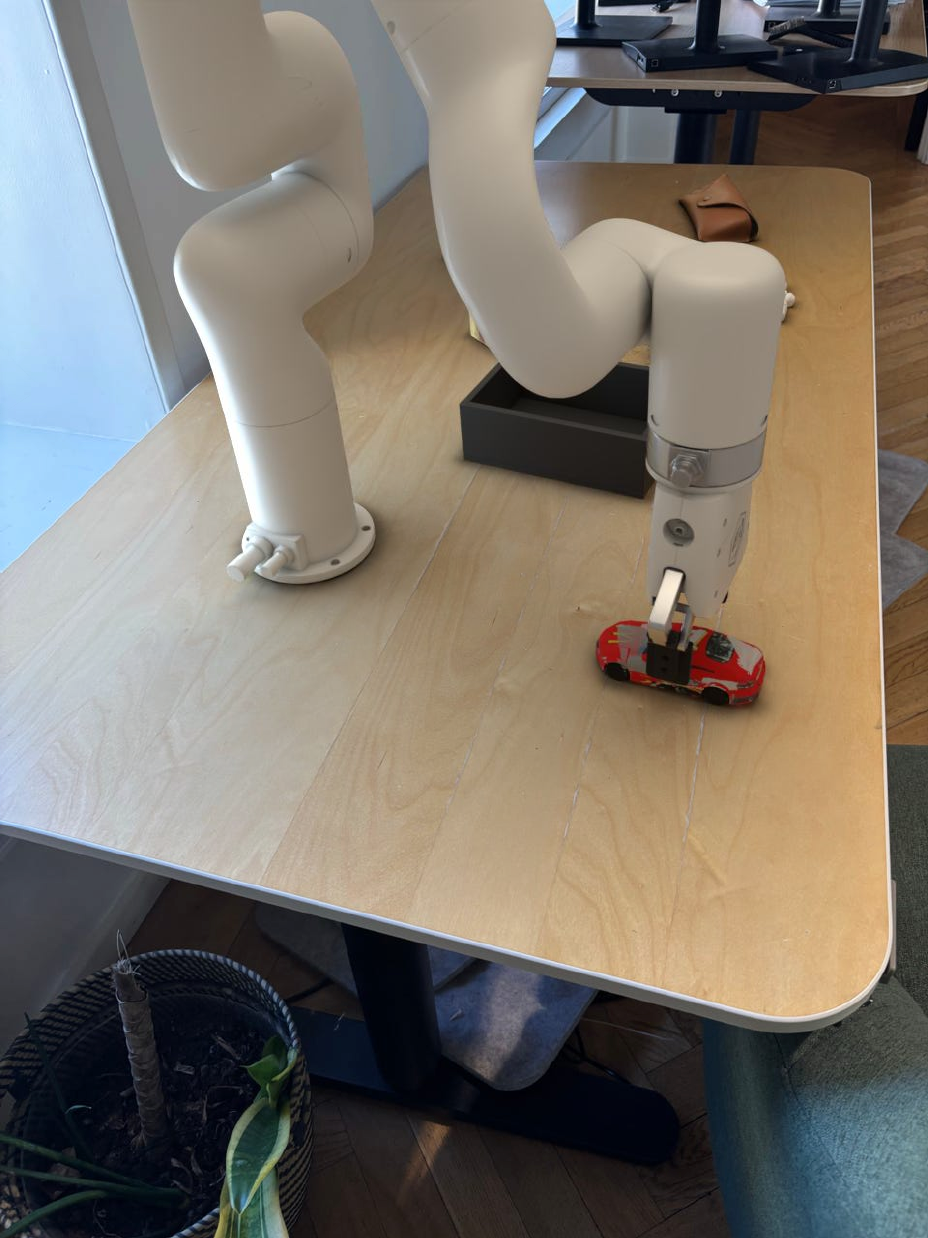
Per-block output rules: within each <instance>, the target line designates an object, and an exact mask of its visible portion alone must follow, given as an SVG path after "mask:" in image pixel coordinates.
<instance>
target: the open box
mask: <svg viewBox="0 0 928 1238" xmlns="http://www.w3.org/2000/svg"><path fill="white" fill-rule="evenodd" d="M649 368H650V365H649V366H648V365H642V364H638V363H637V364H636V363H631V362H624V361H619V363H618V364H617V365H616V366H615V367H614V368H613V369H612V370H611V371H610V372H609V373H608V374H607V375H606V376H605V377H604V378H603V379H601V380H600V381H599V382H598V383H597V384H596V385H594V386H593V387H592V388H590V389H588V390H587V391H585V392H583V393H580V394H578V395H576V396H572V397H567V398H549V397H545V396H541V395H538V394H536V393H534V392H532V391H530V390H528V389H526V388H525V387H524V386H522V385H521V384H520V383H518V382H517V381H516V380H515V379H514V378H513V377H512V376H511V375H510V374H509V373H508V372H507V371H506V370H505V369H504V368H503V367H502V365H501V364H500V363H499V361H497V363H496V364H494V366H493V367H492V368H491V369H490V371H489V372H488V373H487V374H486V375H485V376H483V378H482V379H481V380H480V381H479V382H478V383H477V384H476V385H475V387H474V388H472V389H471V391H470V392H468V394H467V395H466V396H465V397H464V398H463V399H462V400H461V401H460V402H459V405H458V406H459V418H460V430H461V444H462V458H463V459H462V460H465V461H468V462H473V463H478V464H482V465H486V466H490V467H496V468H500V469H505V470H508V471H513V472H518V473H523V474H526V475H531V476H536V477H540V478H545V479H550V480H554V481H559V482H564V483H567V484H572V485H577V486H581V487H586V488H589V489H590V488H591V489H594V490H599V491H604V492H608V493H612V494H618V495H621V496H627V497H631V498H635V499H640V500H644V498H645V497H646V495H647V494H648V492H649V490H650V488H651V487H652V485H653V484H654V483H655V481H656V480H655V479H654V478H653V477H652V476H651V475H650V473H649V472H648V470H647V467H646V444H647V420H648V396H649Z"/></svg>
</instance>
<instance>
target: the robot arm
mask: <svg viewBox="0 0 928 1238" xmlns="http://www.w3.org/2000/svg"><path fill="white" fill-rule="evenodd" d="M369 1H370V3H371V4H372V7H373V8H374V11H375V12H376V14H377V16H378V18H379V20H380V22H381V24H382V26H383V27H384V30H385V33H387V35H388V37H389V39H390V41H391V43H392V45H393V47H394V49H395V50H396V52H397V55H398V56H399V59H400V62H401V63H402V65H403V67H404V69H405V71H406V73H407V75H408V77H409V78H410V81H411V83H412V84H413V86H414V88H415V90H416V92H417V94H418V97H419V99H420V100H421V102H422V105H423V107H424V110H425V113H426V117H427V123H428V173H429V183H430V193H431V198H432V206H433V215H434V222H435V228H436V233H437V239H438V244H439V247H440V251H441V256H442V258H443V261H444V264H445V266H446V270H447V273H448V274H449V277H450V279H451V281H452V283H453V286H454V287H455V289H456V291H457V293H458V295H459V297H460V298H461V300H462V302H463V304H464V306H465V307H466V309H467V311H468V314H469V313H470V315H471V317H472V319H473V321H474V322H475V324H476V326H477V328H478V330H479V332H480V333H481V335H482V337H483V339H484V340H485V342H486V344H487V345H488V346H487V347H488V348H489V350H490V351H491V353H492V354H493V356H494V358H495V359H496V360H497V362H499V363H500V364H501V365H502V367H503V368H504V369H505V370H506V371H507V372H508V373H509V374H510V375H511V376H512V377H513V378H514V379H515V380H516V381H517V382H518V383H520V384H521V385H522V386H524V387H525V388H526V389H528V390H530V391H532V392H534V393H536V394H538V395H541V396H545V397H549V398H567V397H572V396H576V395H578V394H580V393H583V392H585V391H587V390H588V389H590V388H592V387H593V386H594V385H596V384H597V383H598V382H599V381H600V380H601V379H603V378H604V377H605V376H606V375H607V374H608V373H609V372H610V371H611V370H612V369H613V368H614V367H615V366H616V365H617V364H618V363H619V362H621V360H622V359H623V358H625V356H626V355H627V354H628V353H629V352H630V351H631V350H633V349H636V348H639V347H640V346H641V347H642V346H647V347H648V348H649V367H650V368H649V396H648V420H647V444H646V467H647V470H648V472H649V473H650V475H651V476H652V477H653V478H654V479H655V480H654V481H656V483H655V490H654V497H653V504H652V507H651V511H652V512H651V520H650V521H651V522H650V530H649V540H648V551H647V563H646V598H647V601H648V602H649V604H650V605H651V607H652V610H651V613H650V616H649V617H648V621H647V622H648V625H647V634H646V635H647V656H646V674H647V675H648V676H650V677H653V678H657V679H660V680H664V681H668V682H671V683H675V684H679V685H682V686H686V685H688V683H689V681H690V676H691V666H692V655H693V644H694V642H691V641H689V639H690V635H691V631H692V627H693V625H694V622H695V619H696V618H700V619H703V620H709V619H711V618H712V617H714V616H715V615H716V614H717V613H718V612H719V610H720V608H721V606H722V605H723V604H725V603H726V602H727V599H728V597H729V589H730V588H731V586H732V584H733V581H734V579H735V576H736V574H737V572H738V570H739V568H740V566H741V563H742V562H743V558H744V556H745V553H746V550H747V547H748V543H749V542H748V541H749V534H750V533H749V532H750V531H749V530H750V519H751V507H752V506H751V505H752V496H753V495H752V494H753V482H754V481H755V480H756V479H757V478H758V477H759V475H760V474H761V472H762V468H763V462H764V454H765V453H764V452H765V446H766V438H767V430H768V424H769V415H770V409H771V408H770V407H771V400H772V393H773V387H774V380H775V374H776V373H775V372H776V365H777V358H778V349H779V342H780V334H781V328H782V322H783V321H782V313H783V306H784V298H785V286H786V283H787V282H786V275H785V271H784V268H783V267H782V264H781V263H780V260H778V258H777V257H776V256H774V255H773V254H772V253H770V252H769V251H767V250H766V249H764V248H761V247H759V246H756V245H753V244H749V243H745V242H744V243H736V242H702V241H699V240H695V239H693V238H689V237H687V236H683V235H681V234H679V233H675V232H672V231H669V230H666V229H664V228H662V227H658V226H656V225H653V224H650V223H647V222H643V221H640V220H636V219H632V218H624V217H613V218H608V219H607V218H606V219H603V220H601V221H597V222H596V223H593V224H591V225H590V226H589V227H587V228H586V229H583V231H582V232H580V233H578V235H577V236H575V237H573V239H571V240H570V241H569V242H568V243H566V244H565V245H563V246H562V247H560V246H559V244H558V242H557V240H556V238H555V235H554V233H553V231H552V229H551V226H550V224H549V221H548V219H547V216H546V213H545V209H544V206H543V203H542V199H541V196H540V191H539V187H538V182H537V176H536V166H535V137H536V129H537V127H536V126H537V121H538V115H539V111H540V106H541V103H542V100H543V96H544V93H545V89H546V86H547V82H548V80H549V76H550V73H551V69H552V66H553V62H554V57H555V53H556V50H557V49H556V48H557V29H556V24H555V21H554V18H553V16H552V14H551V11H550V10H549V7H548V6H547V4H546V1H545V0H369ZM126 3H127V8H128V12H129V13H128V14H129V17H130V22H131V25H132V29H133V32H134V37H135V40H136V45H137V48H138V53H139V57H140V60H141V66H142V68H143V72H144V76H145V80H146V84H147V88H148V93H149V96H150V99H151V101H150V102H151V105H152V108H153V111H154V115H155V119H156V123H157V127H158V130H159V133H160V137H161V140H162V142H163V146H164V149H165V152H166V155H167V156H168V159H169V161H170V163H171V164H172V166H173V168H174V169H175V171H176V172H177V173H178V175H179V176H180V177H181V178H182V179H183V181H185V182H186V183H188V184H189V185H190V186H192V187H193V188H196V189H198V190H202V191H206V192H209V193H219V192H220V193H221V192H228V191H233V190H236V189H238V188H242V187H244V186H247V185H249V184H252V183H255V182H256V181H259V180H261V179H263V178H265V177H267V176H270V175H271V180H270V181H269V182H266V183H265V184H263V185H260V186H259V187H256V188H255V189H251V190H249V191H247V192H246V193H243V194H241V195H239V196H238V197H235V198H234V199H231V200H230V201H228V202H226V203H224V204H223V205H220V206H218V207H216V208H214V209H213V210H211V211H209V212H208V213H206V214H205V215H203V216H202V217H200V218H199V219H198V220H197V221H196V222H194V223H193V224H192V225H191V226H190V227H189V228H188V229H187V230H186V231H185V233H184V234H183V235H182V237H181V239H180V241H179V242H178V244H177V247H176V249H175V253H174V256H173V257H174V258H173V275H174V281H175V284H176V288H177V291H178V294H179V296H180V299H181V300H182V302H183V305H184V307H185V309H186V311H187V313H188V315H189V317H190V319H191V321H192V323H193V325H194V328H195V329H196V332H197V334H198V337H199V338H200V341H201V343H202V346H203V347H204V351H205V353H206V356H207V358H208V361H209V365H210V368H211V371H212V375H213V377H214V381H215V385H216V389H217V392H218V396H219V399H220V403H221V407H222V410H223V413H224V416H225V420H226V424H227V428H228V433H229V435H230V436H229V437H230V439H231V444H232V447H233V451H234V455H235V459H236V463H237V467H238V470H239V474H240V478H241V482H242V486H243V489H244V493H245V497H246V501H247V505H248V508H249V513H250V516H251V517H250V518H251V520H252V521H251V522H250V523H249V524H248V525H247V526H246V527H245V528H246V530H245V532H244V534H243V537H242V540H241V549H242V553H240V554H239V555H237V556H236V557H235V558H234V559H233V560H232V561H231V562H230V563H229V564H228V565H227V566H226V573H227V575H228V576H229V578H230V579H232V580H233V581H234V582H236V583H238V584H239V583H244V581H246V579H248V577H249V576H250V575H251V574H252V573H254V572H255V573H256V574H257V575H259V576H260V577H263V578H265V579H267V580H270V581H274V582H278V583H281V584H290V585H291V584H292V585H296V584H299V585H300V584H301V585H302V584H312V583H318V582H322V581H325V580H330V579H333V578H335V577H337V576H340V575H343V574H344V573H346V572H348V571H350V570H352V569H353V568H355V567H356V566H357V565H359V564H360V563H362V562H363V561H364V559H365V558H366V557H367V556H368V555H369V554H370V552H371V551H372V549H373V547H374V545H375V542H376V538H377V536H376V527H375V526H376V525H375V522H374V518H373V517H372V515H371V513H370V512H369V511H368V510H367V509H366V508H365V507H364V506H362V505H360V504H359V503H358V502H355V500H354V494H353V488H352V482H351V477H350V471H349V465H348V458H347V453H346V447H345V442H344V435H343V430H342V424H341V419H340V413H339V407H338V402H337V401H338V399H337V395H336V390H335V386H334V379H333V375H332V370H331V366H330V363H329V360H328V357H327V356H326V354H325V352H324V350H323V349H322V347H321V346H320V345H319V344H318V342H316V341H315V340H314V338H313V337H312V336H311V335H310V334H309V333H308V331H307V329H306V328H305V326H304V323H303V318H304V315H305V313H306V312H307V311H308V310H310V309H311V308H313V307H314V306H315V305H317V304H318V303H319V302H320V301H321V300H324V299H325V298H326V297H327V296H329V295H330V294H332V293H333V292H335V291H337V290H338V289H339V288H341V287H342V286H344V285H346V283H348V282H349V281H351V280H352V279H354V278H355V277H356V276H357V275H358V274H359V273H360V272H361V271H362V270H363V269H364V267H365V266H366V264H367V262H368V261H369V259H370V256H371V253H372V251H373V246H374V239H375V238H374V237H375V236H374V235H375V234H374V233H375V223H374V222H375V221H374V209H373V201H372V192H371V184H370V176H369V175H370V174H369V167H368V158H367V150H366V141H365V134H364V125H363V117H362V110H361V102H360V95H359V91H358V86H357V82H356V78H355V76H354V72H353V70H352V67H351V65H350V63H349V60H348V58H347V56H346V54H345V52H344V50H343V49H342V47H341V45H340V44H339V42H338V40H337V39H336V38H335V37H334V35H332V33H331V32H330V30H328V29H327V27H325V26H324V25H323V24H322V23H321V22H319V21H318V20H316V19H315V18H313V17H311V16H309V15H307V14H306V13H305V14H304V13H302V12H299V11H294V10H279V11H271V12H267V13H264V10H263V7H262V2H261V0H126ZM781 321H782V322H781ZM681 594H683V595H684V597H685V599H686V602H687V604H686V603H682V602H679V601H680V597H681ZM675 612H678V613H680V614H681V613H682V614H684V617H683V621H682V623H683V624H682V628H681V632H678V631H675V630H671V628H672V622H673V619H674V616H675V615H674V614H675Z"/></svg>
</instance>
